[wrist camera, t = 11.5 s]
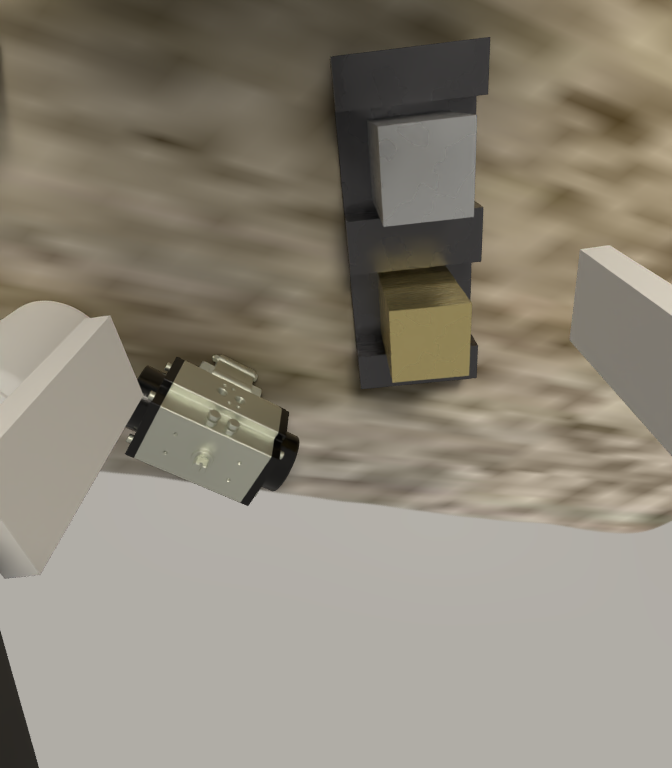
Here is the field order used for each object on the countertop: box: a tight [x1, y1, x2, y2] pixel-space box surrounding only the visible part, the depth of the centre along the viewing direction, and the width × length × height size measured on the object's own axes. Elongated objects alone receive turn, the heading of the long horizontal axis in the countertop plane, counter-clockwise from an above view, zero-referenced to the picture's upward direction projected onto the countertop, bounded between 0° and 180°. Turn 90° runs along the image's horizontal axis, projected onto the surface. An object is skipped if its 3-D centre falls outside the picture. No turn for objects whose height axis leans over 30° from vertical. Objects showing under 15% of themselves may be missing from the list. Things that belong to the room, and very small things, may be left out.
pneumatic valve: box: [125, 354, 299, 506], centre depth 37 cm, size 6×12×12 cm, turn 59°
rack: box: [330, 37, 490, 389], centre depth 35 cm, size 22×9×3 cm, turn 6°
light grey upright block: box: [367, 111, 477, 227], centre depth 30 cm, size 5×5×8 cm
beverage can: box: [0, 301, 90, 404], centre depth 35 cm, size 8×8×12 cm
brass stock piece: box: [378, 265, 472, 383], centre depth 35 cm, size 5×5×8 cm
